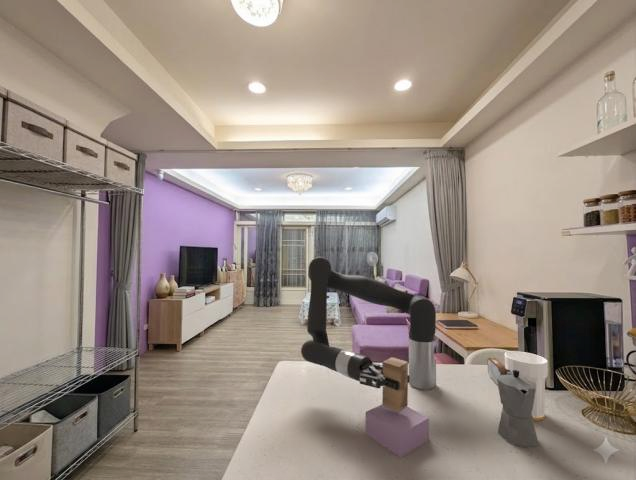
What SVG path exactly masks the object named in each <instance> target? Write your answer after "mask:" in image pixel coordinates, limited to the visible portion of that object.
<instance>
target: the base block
mask: <svg viewBox="0 0 636 480" xmlns="http://www.w3.org/2000/svg"><path fill="white" fill-rule="evenodd" d="M365 434H367V435H368V436H369V437H370V438H371V439H374V440H375V441H377V442H378V443H379V444H380V445H382V446H383V447H385V448H386V449H388V450H389V451H390V452H392V453H394V454H395V455H396V456H398V457H399V458H402V457H404V456H405V455H407V454H409V453H410V452H411V451H413V450H415V449H417V448H418V447H420V446H421V445H423V444H424V443H426V442H428V441H429V440H430V417H428V416H426V415H424V414H422V413H420V412H418V411H416V410H415V409H412V408H411V407H409V406H406V407H405V408H404V409H403V410H402V411H400V412H396V411H394V410H392V409H389V408H387V407H385V406H382V404H380V405H378V406H376V407H373V408H371V409H368V410H367V411H365Z"/></svg>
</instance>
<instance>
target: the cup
mask: <svg viewBox="0 0 636 480" xmlns="http://www.w3.org/2000/svg"><path fill="white" fill-rule="evenodd" d="M504 366H505V368H506V370H507V369H508V370H510V371H511V372H513V370H517V371H519V377H523V378H526V379H528V380H530V381H532V382H534V383H535V384H536V390H535V397H534V404H533V410H532V416H533V421H534V422H535V421H536V422H537V421H542V420H544V419H545V414H546V413H545V410H546V408H545V407H546V405H545V404H546V403H545V402H546V378H548V373H549V372H548V371H549V370H548V369H549V368H548V367H549V365H548V359H546V357H543V356H540V355H538V354H534V353H531V352H525V351H518V350H513V351H512V350H510V351H505V352H504Z"/></svg>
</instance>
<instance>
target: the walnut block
mask: <svg viewBox="0 0 636 480" xmlns="http://www.w3.org/2000/svg"><path fill="white" fill-rule="evenodd" d="M382 365H383V376H385V377H386V378H390V379H393V380H396V381H399V382H400V389H399V390H395V389H392V388H389V387H387V386H386V387H382V402H381V405H382V406H385V407H387V408H389V409H392V410H394V411H396V412H400V411H402V410H403V409H404V408H405V407H406V406H407V407H409V406H408V404H409V403H408V396H409V393H408V392H409V388H408V387H409V383H408V375H409V361H406V360H403V359H399V358H396V357H394V356H393V357H392V356H391V357H390V358H388V359H386V360H383V361H382Z"/></svg>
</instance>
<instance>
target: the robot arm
mask: <svg viewBox="0 0 636 480" xmlns="http://www.w3.org/2000/svg"><path fill="white" fill-rule="evenodd" d="M307 271H308V278H309V280H310V297H309V305H308V312H307V324H306V325H307V326H306V328H307V329H306V331H307V333H308V335H310V336H311V337H312V339H311V340H307V341H305V342H304V343H303V344H302V345H301V348H300V353H301V357H302V358H303V359H304V361H306V362H309V363H311V364H316V365H318V366H322V367H325V368H327V369H329V370H330V371H334V372H335V373H339V374H340V375H342V376H344V377H346V378H349V379H352V380H355V381H357V382H358V383H359V384H360V385H364V386H367V387H371V388H375V389H381V387H382V388H383V387H386V386H387V387H389V388H392V389H395V390H399V389H400V382H399V381H396V380H393V379H390V378H386V377H385V376H383V364H381V365H380V364H379V363H373V361H372V359H371V358H370V357H369V356H367V355H363V354H360V353H358V352H354V351H351V350H346V349H345V350H344V349H343V348H342V349H341V348H338V347H335V346H334V347H333V346H330V341H329V337H328V332H327V316H328V315H327V314H328V312H327V309H328V308H327V307H328V306H327V305H328V302H327V298H328V295H327V294H328V288H329V289H332V290H336V291H339V292H342V293H344V294H347V295H349V296H352V297H355V298H357V299H360V300H362V301H365V302H367V303H371V304H374V305H379V306H386V307H388V308H392V309H393V308H394V309H396V310H399V311H401V312H403V313H405V314H407V315H409V323H410V324H409V330H408V385H410V386H411V387H413V388H415V389H419V390H425V391H426V390H427V391H429V390H432V389H434V388H435V386H436V385H437V360H436V359H435V334H436V328H437V327H436V326H437V322H436V321H437V313H436V307H435V304H434V303H433V302H432V301H431V300H429V299H428V298H427V297H425V296H423V295H418V294H413V293H409V292H406V291H402V290H400V289H399V290H398V289H397V288H395V287H393V286H391V285H388V284H386V283H385V282H382V281H380V280H376V279H374V278H371V277H369V276H364V275H357V274H356V275H355V274H354V275H353V274H343V273H340V272H337V271H334V270H332V266H331V262H330V261H329V260H328V259H327V258H326V257H324V256H316V257H314V258H313V259H312V260H311V261H310V263H309V264H308V270H307Z"/></svg>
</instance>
